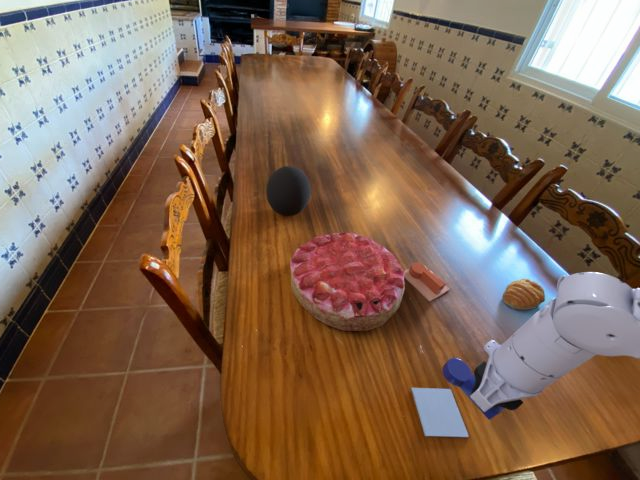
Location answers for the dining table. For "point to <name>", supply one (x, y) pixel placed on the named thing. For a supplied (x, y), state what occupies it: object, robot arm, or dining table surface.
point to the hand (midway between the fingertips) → (482, 396)
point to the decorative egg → (288, 191)
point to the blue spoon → (465, 381)
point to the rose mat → (423, 287)
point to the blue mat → (439, 413)
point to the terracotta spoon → (426, 277)
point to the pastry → (523, 294)
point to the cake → (347, 281)
